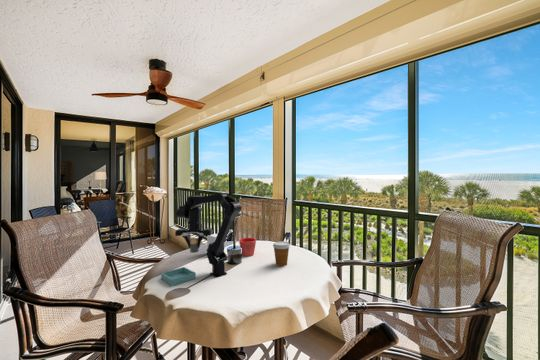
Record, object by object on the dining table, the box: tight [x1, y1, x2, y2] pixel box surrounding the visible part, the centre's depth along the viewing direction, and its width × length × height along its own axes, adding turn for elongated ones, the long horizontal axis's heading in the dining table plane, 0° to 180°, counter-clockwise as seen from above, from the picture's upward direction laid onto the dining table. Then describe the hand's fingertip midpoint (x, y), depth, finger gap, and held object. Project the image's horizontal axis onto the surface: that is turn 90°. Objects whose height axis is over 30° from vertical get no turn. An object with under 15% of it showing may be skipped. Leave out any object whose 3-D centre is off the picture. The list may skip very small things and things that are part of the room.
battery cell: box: [189, 237, 200, 253], centre depth 134 cm, size 4×4×7 cm
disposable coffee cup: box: [272, 240, 290, 267], centre depth 141 cm, size 10×10×12 cm
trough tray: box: [160, 266, 197, 287], centre depth 121 cm, size 12×12×3 cm
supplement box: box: [206, 233, 218, 250], centre depth 161 cm, size 7×7×13 cm
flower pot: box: [238, 237, 257, 257], centre depth 160 cm, size 11×11×10 cm
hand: (194, 247), depth 134 cm, fingers closed on battery cell, 4 cm apart
